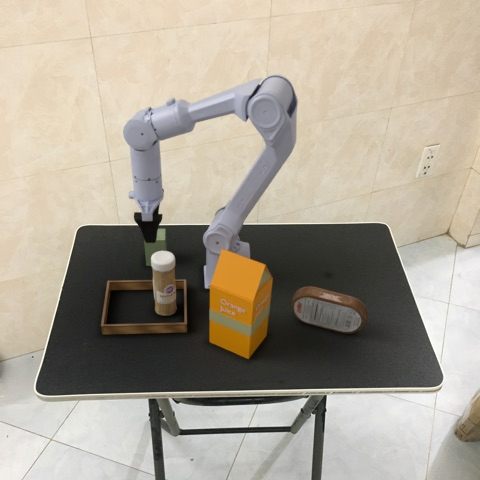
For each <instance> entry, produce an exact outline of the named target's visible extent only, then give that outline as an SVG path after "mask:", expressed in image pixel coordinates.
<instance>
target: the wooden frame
mask: <svg viewBox="0 0 480 480" xmlns="http://www.w3.org/2000/svg"><path fill="white" fill-rule="evenodd" d="M106 282H107V283H106V290H105V294H104V300H103V301H104V302H103V308H102V315H101V322H100V328H101V329H100V330H101V334H102V336H103V335H135V334H136V335H137V334H139V335H143V334H177V333H180V334H181V333H183V334H184V333H188V301H187V300H188V299H187V298H188V297H187V279H185V278H183V279H175V284H176V290H183V312H184V313H183V316H184V317H183V319H184V321H183V322H156V323H150V322H149V323H147V322H146V323H110V324H109V323H108V324H107V320H108V312H109V305H110V298H111V291H145V290H146V291H147V290H153V291H154V288H153V279H135V280H134V279H133V280H132V279H131V280H130V279H127V280H125V279H123V280H122V279H121V280H107V281H106Z"/></svg>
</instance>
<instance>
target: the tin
mask: <svg viewBox="0 0 480 480" xmlns="http://www.w3.org/2000/svg"><path fill="white" fill-rule="evenodd" d="M292 297H293V298H292V301H291V305H290V307H291V308H290V309H291V313H292V314H293V316H294V317H295V318H296V319H298V321H300V322H302V323H304V324H307V325H310V326H314V327H318V328H321V329H326V330H329V331H333V332H336V333H341V334H346V335H351V334H355V333H357V332H359V331H361V330H362V329H363V328H364V326H365V324H366V320H367V318H368V313H369V311H368V308H367V307H366V305H365V304H364V303H363V302H362V301H361V300H360V299H358V298H357V297H354V296H351V295H347V294H344V293H339V292H335V291H331V290H328V289H324V288H320V287H317V286H303V287H301V288H298V289H297V290H296V291H295V292H294V294H293V296H292Z"/></svg>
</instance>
